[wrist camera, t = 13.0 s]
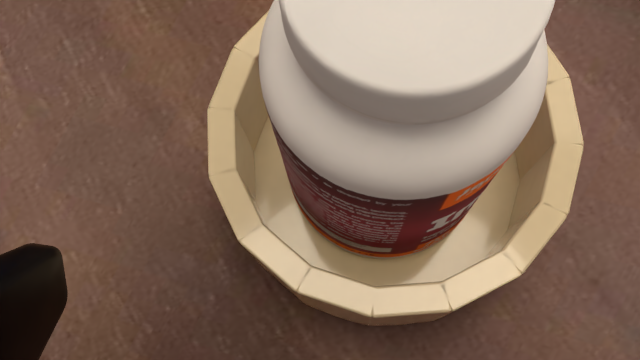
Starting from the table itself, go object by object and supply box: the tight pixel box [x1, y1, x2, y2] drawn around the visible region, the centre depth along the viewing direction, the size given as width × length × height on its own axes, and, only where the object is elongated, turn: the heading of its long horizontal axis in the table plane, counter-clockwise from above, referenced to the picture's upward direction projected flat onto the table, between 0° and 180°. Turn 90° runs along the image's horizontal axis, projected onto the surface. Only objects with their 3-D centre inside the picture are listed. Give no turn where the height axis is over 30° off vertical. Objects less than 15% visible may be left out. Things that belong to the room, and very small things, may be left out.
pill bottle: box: [259, 0, 555, 259], centre depth 15 cm, size 6×6×11 cm
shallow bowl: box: [207, 11, 584, 326], centre depth 19 cm, size 10×10×4 cm
